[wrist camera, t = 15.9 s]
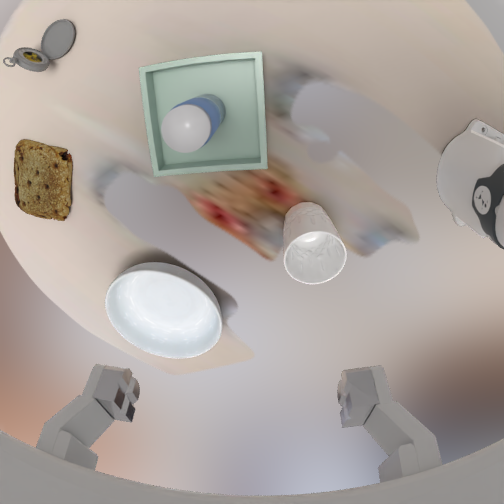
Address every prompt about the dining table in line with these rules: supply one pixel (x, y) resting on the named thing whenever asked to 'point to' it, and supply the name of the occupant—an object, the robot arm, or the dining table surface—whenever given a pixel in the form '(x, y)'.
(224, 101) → the tray
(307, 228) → the white cup
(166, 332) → the serving bowl
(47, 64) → the pocket watch
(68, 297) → the dining table surface
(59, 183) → the pastry
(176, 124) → the shaker
